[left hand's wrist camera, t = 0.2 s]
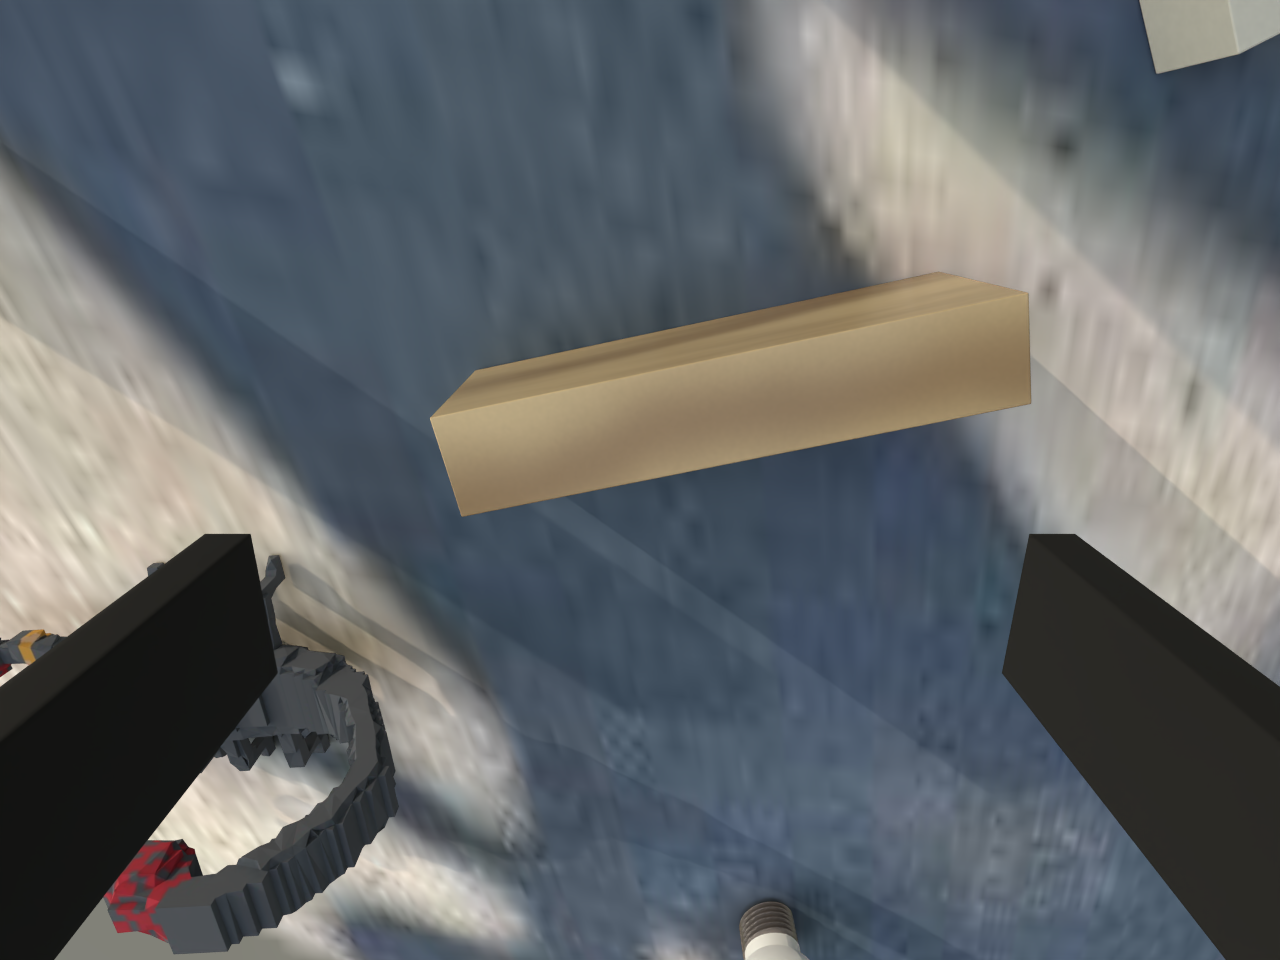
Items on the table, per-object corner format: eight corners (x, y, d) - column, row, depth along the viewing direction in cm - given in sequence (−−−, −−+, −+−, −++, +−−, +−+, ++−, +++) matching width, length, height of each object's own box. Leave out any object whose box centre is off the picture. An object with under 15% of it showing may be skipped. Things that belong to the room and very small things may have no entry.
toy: (471, 736, 47) (374, 1049, 29) (55, 761, 47) (-277, 1081, 30) (436, 545, 42) (295, 784, 25) (-26, 574, 42) (-475, 828, 25)
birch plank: (474, 370, 38) (429, 418, 30) (939, 271, 37) (1028, 292, 28) (498, 450, 40) (461, 517, 32) (945, 359, 38) (1031, 404, 30)
